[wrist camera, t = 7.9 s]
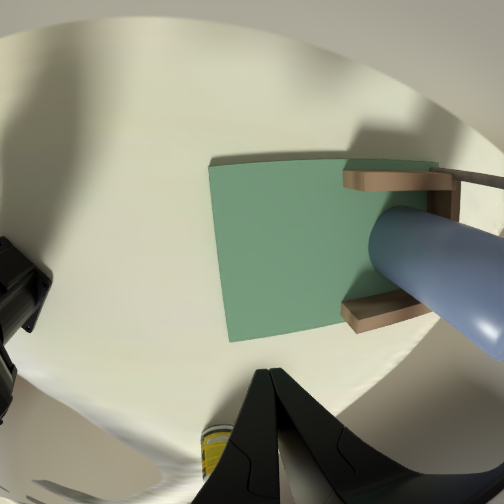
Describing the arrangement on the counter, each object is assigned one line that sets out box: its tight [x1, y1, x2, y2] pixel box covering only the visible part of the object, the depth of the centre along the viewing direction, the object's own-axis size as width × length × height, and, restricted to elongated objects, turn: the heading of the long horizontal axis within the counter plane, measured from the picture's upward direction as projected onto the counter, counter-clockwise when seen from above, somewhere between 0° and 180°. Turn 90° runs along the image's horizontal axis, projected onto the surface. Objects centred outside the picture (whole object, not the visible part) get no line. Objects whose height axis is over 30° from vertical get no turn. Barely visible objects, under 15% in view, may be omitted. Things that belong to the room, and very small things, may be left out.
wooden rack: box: [340, 167, 504, 334], centre depth 16 cm, size 12×12×10 cm
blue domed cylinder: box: [368, 205, 504, 362], centre depth 15 cm, size 6×6×13 cm
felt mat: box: [208, 159, 439, 342], centre depth 21 cm, size 19×13×1 cm
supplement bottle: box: [201, 425, 233, 484], centre depth 22 cm, size 5×5×8 cm
